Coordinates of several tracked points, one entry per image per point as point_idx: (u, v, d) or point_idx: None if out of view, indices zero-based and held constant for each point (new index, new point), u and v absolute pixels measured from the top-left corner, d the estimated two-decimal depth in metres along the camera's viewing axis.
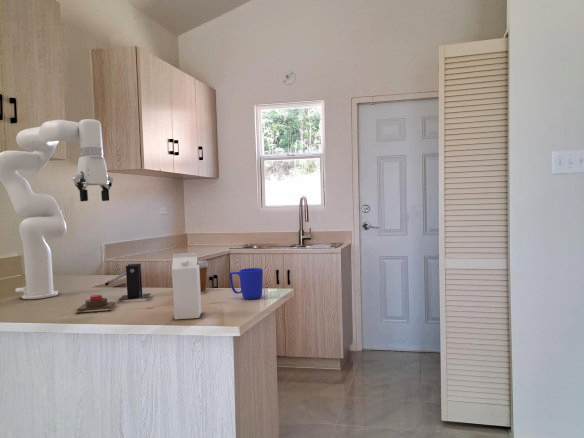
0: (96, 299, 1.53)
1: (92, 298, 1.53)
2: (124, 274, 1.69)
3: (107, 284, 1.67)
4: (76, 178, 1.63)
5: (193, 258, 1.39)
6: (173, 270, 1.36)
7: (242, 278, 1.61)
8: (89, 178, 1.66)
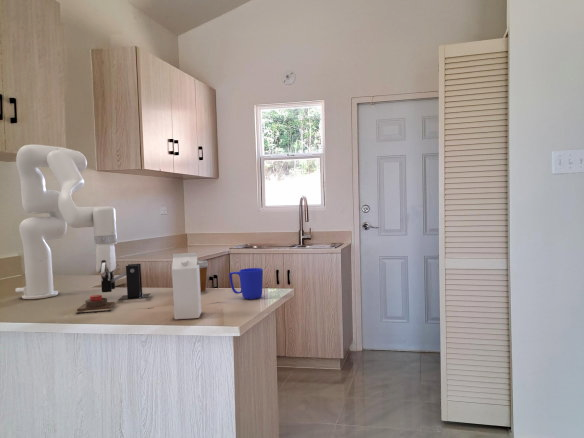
0: (96, 299, 1.53)
1: (92, 298, 1.53)
2: (124, 274, 1.69)
3: None
4: (104, 272, 1.62)
5: (193, 258, 1.39)
6: (173, 270, 1.36)
7: (242, 278, 1.61)
8: (111, 266, 1.65)
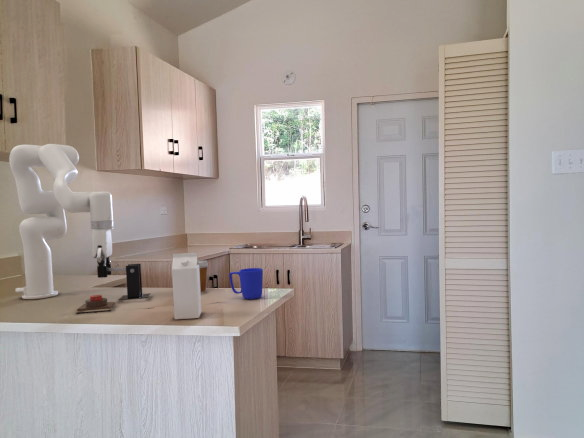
0: (96, 299, 1.53)
1: (92, 298, 1.53)
2: (123, 269, 1.69)
3: None
4: (100, 257, 1.62)
5: (193, 258, 1.39)
6: (173, 270, 1.36)
7: (242, 278, 1.61)
8: (107, 252, 1.65)
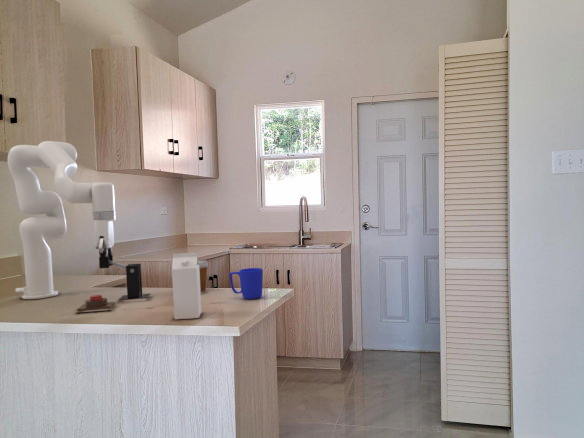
0: (96, 299, 1.53)
1: (92, 298, 1.53)
2: (123, 266, 1.69)
3: None
4: (102, 248, 1.62)
5: (193, 258, 1.39)
6: (173, 270, 1.36)
7: (242, 278, 1.61)
8: (108, 242, 1.65)
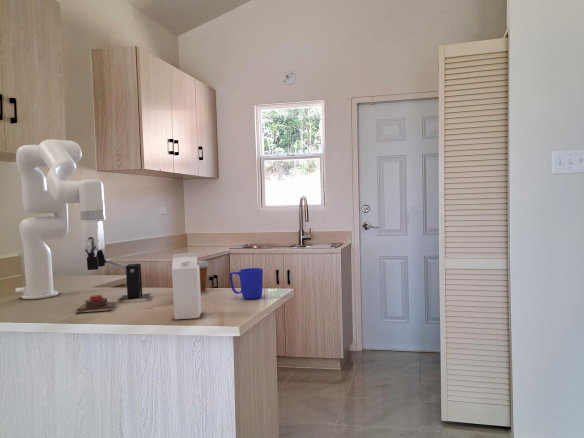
0: (96, 299, 1.53)
1: (92, 298, 1.53)
2: (123, 266, 1.69)
3: (105, 262, 1.66)
4: (90, 245, 1.48)
5: (193, 258, 1.39)
6: (173, 270, 1.36)
7: (242, 278, 1.61)
8: (99, 244, 1.52)
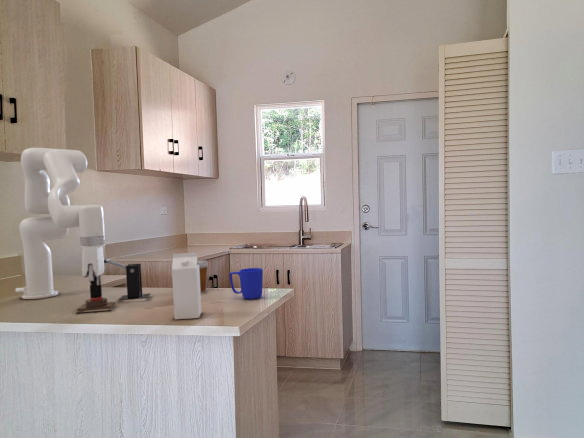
0: (96, 300, 1.53)
1: (92, 299, 1.53)
2: (123, 266, 1.69)
3: (105, 262, 1.66)
4: (93, 279, 1.50)
5: (193, 258, 1.39)
6: (173, 270, 1.36)
7: (242, 278, 1.61)
8: (98, 270, 1.51)
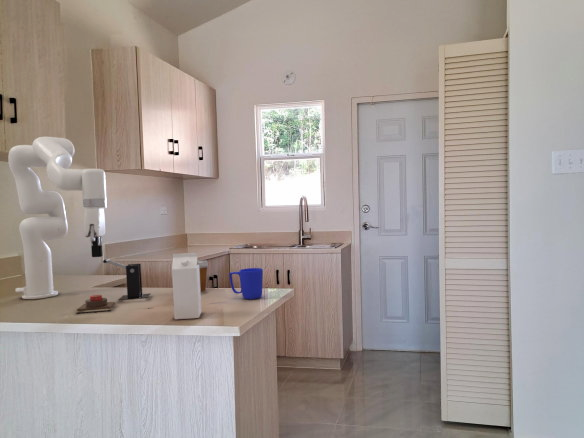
0: (96, 299, 1.53)
1: (92, 298, 1.53)
2: (123, 266, 1.69)
3: (105, 262, 1.66)
4: (94, 239, 1.59)
5: (193, 258, 1.39)
6: (173, 270, 1.36)
7: (242, 278, 1.61)
8: (99, 231, 1.60)
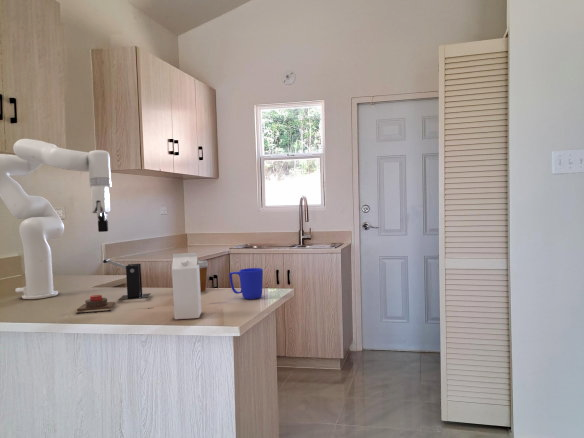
0: (96, 299, 1.53)
1: (92, 298, 1.53)
2: (123, 266, 1.69)
3: (105, 262, 1.66)
4: (101, 214, 1.73)
5: (193, 258, 1.39)
6: (173, 270, 1.36)
7: (242, 278, 1.61)
8: (105, 207, 1.74)
